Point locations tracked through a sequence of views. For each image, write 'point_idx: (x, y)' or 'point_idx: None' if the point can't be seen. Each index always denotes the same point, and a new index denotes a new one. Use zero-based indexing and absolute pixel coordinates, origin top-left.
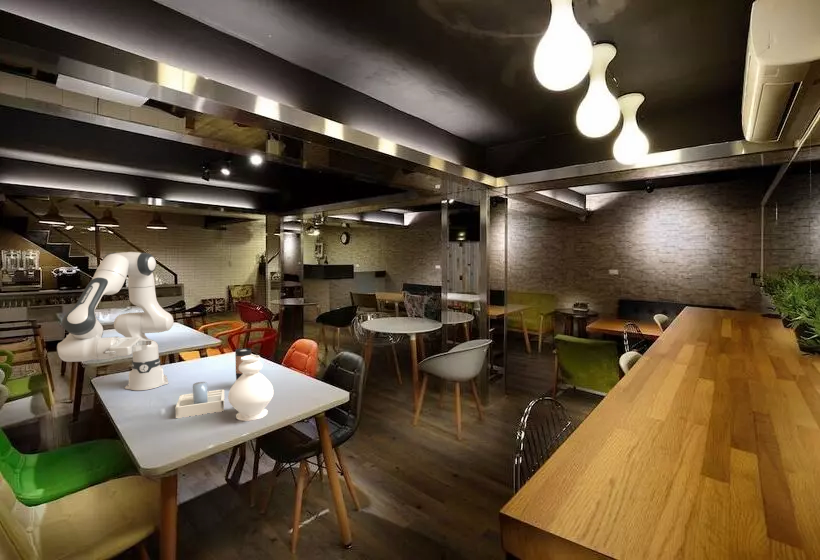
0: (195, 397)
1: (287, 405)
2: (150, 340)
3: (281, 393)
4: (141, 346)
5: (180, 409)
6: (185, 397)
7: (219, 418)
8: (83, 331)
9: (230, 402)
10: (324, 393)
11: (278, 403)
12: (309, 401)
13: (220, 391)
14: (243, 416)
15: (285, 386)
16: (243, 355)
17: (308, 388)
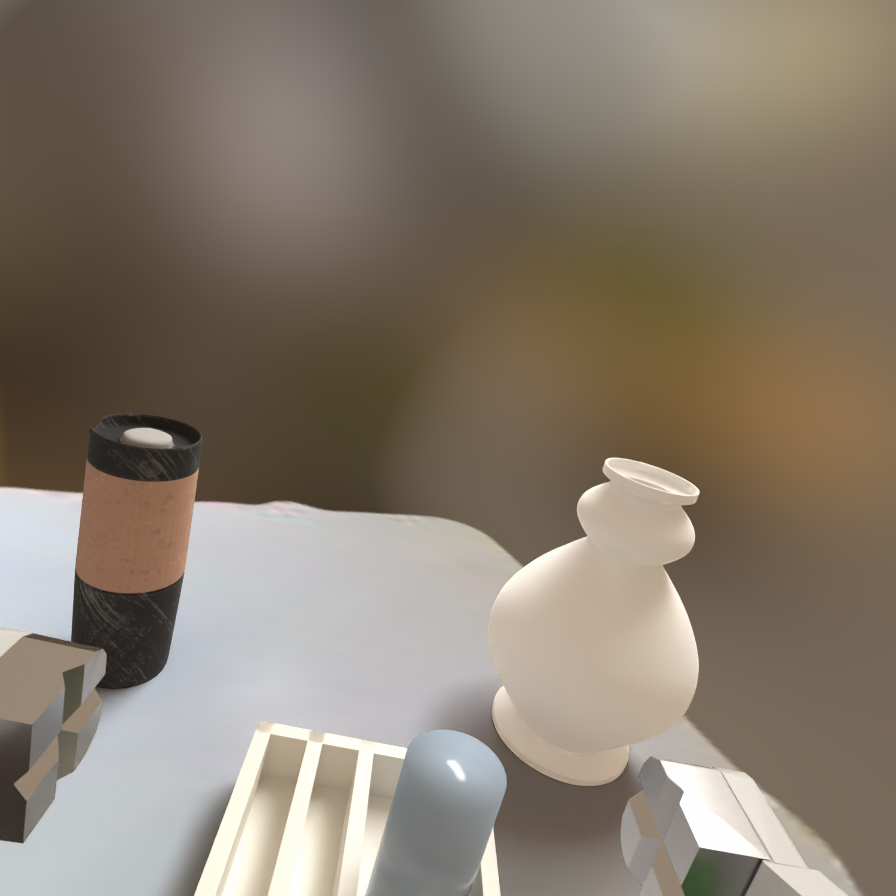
0: (472, 877)
1: None
2: (10, 632)
3: (348, 598)
4: (795, 879)
5: None
6: None
7: (569, 851)
8: None
9: (653, 730)
10: (429, 539)
11: (463, 636)
12: (485, 581)
13: (267, 746)
14: (604, 754)
15: (266, 565)
16: (196, 469)
17: (349, 541)
